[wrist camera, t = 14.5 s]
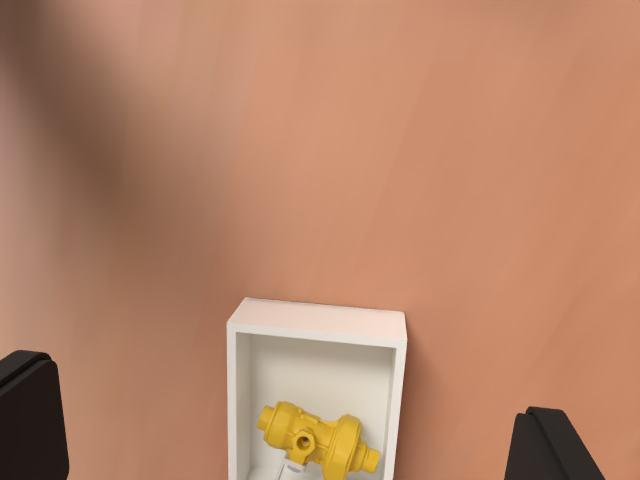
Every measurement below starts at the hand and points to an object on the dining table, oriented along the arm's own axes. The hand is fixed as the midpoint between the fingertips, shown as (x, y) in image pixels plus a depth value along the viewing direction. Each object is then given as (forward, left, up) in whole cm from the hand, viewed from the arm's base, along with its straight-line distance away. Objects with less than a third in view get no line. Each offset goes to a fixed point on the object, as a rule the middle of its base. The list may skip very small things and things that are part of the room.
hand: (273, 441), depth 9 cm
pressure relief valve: (-2, -24, -25) cm, 35 cm away
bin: (-2, -18, -28) cm, 34 cm away
